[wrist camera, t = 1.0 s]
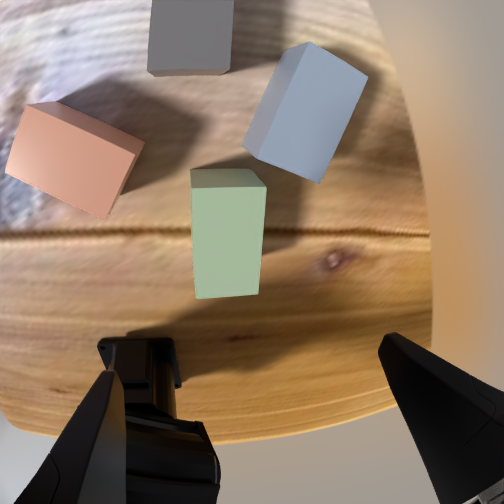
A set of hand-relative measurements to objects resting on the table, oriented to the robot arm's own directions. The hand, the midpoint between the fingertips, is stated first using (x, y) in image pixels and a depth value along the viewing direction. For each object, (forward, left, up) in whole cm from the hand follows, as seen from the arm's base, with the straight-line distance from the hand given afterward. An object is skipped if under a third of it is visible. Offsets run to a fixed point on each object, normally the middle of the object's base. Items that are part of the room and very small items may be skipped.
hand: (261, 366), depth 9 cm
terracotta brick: (+5, +8, -12) cm, 15 cm away
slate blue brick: (+7, -4, -12) cm, 14 cm away
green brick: (0, 0, -12) cm, 12 cm away
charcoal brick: (+12, +2, -12) cm, 17 cm away
